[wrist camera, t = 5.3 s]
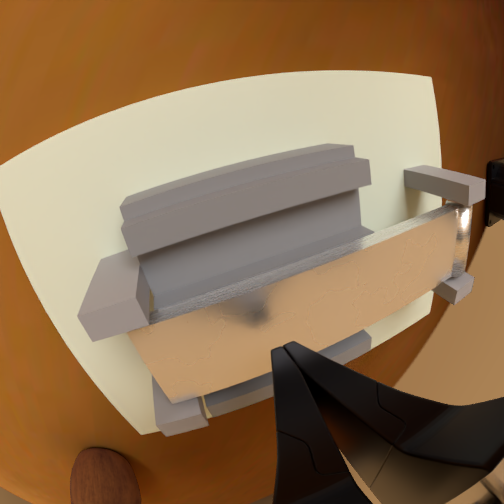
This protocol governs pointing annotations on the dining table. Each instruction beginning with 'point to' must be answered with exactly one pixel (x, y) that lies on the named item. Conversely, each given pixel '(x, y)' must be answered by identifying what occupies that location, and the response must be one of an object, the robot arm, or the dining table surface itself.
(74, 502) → the wooden figurine
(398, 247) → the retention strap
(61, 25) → the dining table surface
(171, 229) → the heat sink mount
